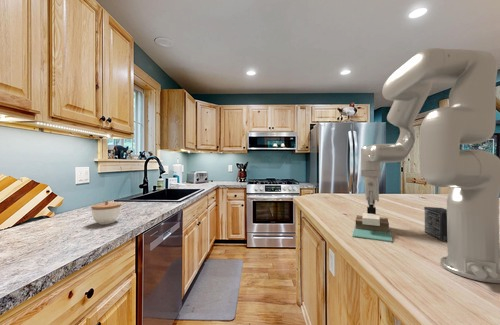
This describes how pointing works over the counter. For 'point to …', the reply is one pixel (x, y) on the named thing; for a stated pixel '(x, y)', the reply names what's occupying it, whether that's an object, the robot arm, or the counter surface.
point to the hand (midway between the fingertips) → (371, 216)
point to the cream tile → (371, 219)
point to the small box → (436, 222)
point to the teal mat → (372, 235)
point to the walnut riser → (383, 225)
